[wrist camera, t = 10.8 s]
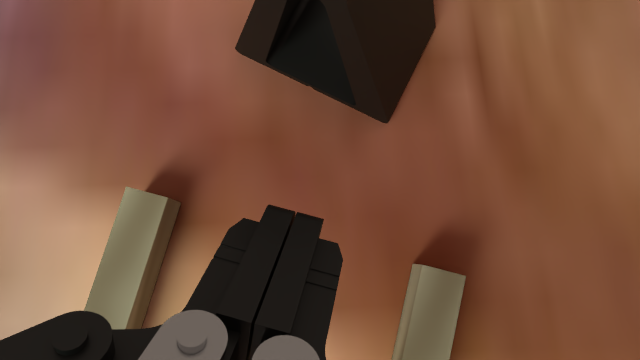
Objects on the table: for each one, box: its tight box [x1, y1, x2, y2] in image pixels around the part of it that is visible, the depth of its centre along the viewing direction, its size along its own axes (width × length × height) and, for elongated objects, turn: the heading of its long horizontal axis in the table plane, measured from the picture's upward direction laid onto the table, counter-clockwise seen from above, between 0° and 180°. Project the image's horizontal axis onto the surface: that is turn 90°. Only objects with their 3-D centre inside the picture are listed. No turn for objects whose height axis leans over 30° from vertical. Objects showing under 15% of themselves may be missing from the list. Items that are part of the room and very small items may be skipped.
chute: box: [84, 187, 466, 360], centre depth 21 cm, size 16×34×3 cm, turn 165°
